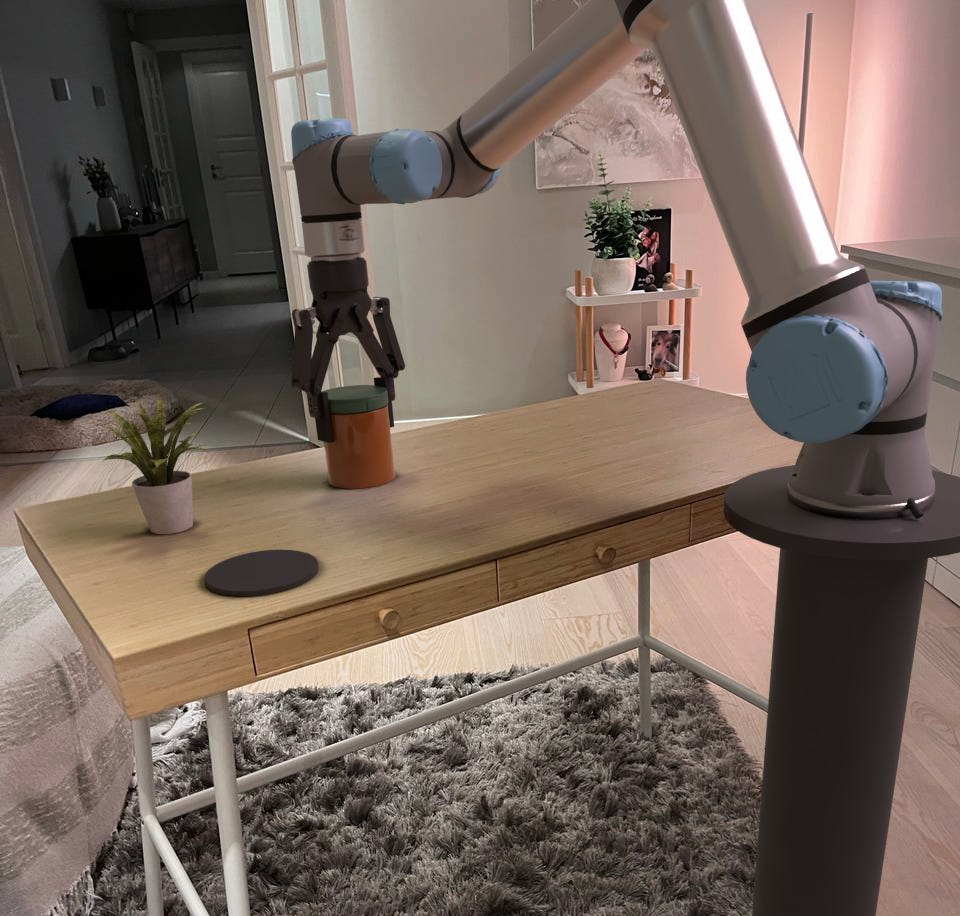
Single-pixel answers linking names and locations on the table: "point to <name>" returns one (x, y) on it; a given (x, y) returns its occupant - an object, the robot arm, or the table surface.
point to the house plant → (160, 469)
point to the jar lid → (356, 398)
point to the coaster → (261, 572)
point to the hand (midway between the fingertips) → (356, 433)
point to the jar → (360, 449)
